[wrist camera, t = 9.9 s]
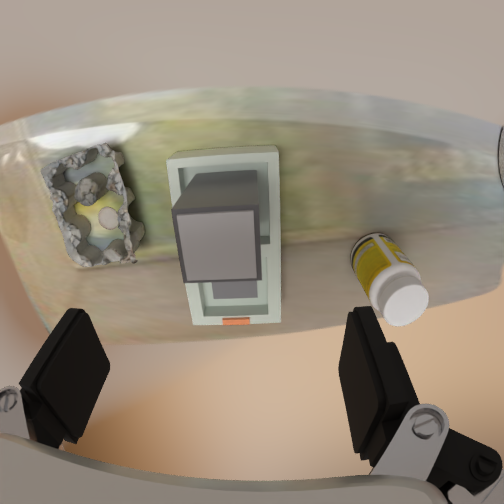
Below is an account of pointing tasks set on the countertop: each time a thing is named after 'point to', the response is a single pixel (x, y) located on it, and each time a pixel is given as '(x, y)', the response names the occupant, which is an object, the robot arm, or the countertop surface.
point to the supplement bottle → (389, 279)
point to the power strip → (269, 288)
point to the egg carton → (87, 195)
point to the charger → (219, 228)
